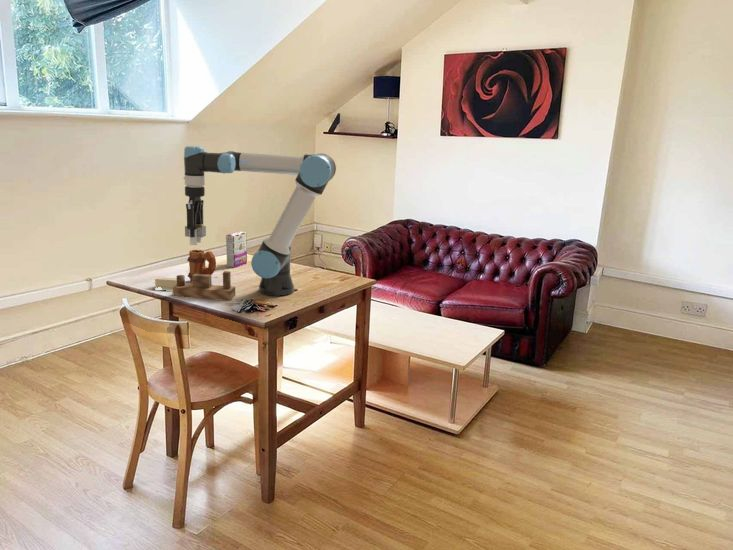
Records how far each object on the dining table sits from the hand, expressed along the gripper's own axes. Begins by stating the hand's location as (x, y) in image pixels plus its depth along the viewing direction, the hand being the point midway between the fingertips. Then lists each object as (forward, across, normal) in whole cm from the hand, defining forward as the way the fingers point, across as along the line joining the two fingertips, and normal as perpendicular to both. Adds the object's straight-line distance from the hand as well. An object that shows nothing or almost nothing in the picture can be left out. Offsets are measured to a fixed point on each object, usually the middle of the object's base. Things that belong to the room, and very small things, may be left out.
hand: (195, 243), depth 232 cm
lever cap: (-3, 0, 0) cm, 3 cm away
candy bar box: (+22, -53, +2) cm, 58 cm away
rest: (+22, -7, -15) cm, 28 cm away
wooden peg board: (+22, +1, +4) cm, 22 cm away
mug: (+22, -18, -4) cm, 29 cm away
